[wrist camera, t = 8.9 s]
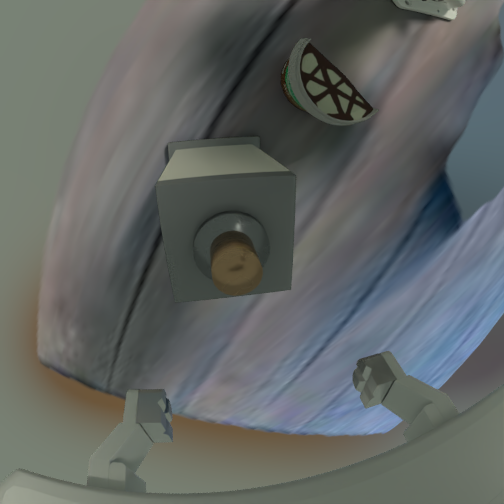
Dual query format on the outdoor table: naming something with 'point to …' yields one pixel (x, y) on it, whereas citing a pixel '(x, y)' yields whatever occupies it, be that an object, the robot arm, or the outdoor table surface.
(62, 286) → the outdoor table surface
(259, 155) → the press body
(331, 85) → the half citrus wheel toy
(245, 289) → the plunger
